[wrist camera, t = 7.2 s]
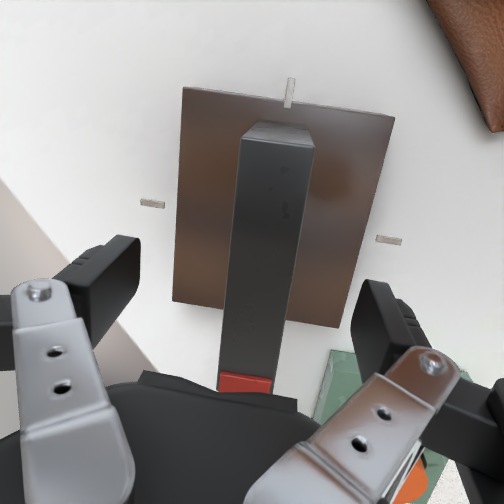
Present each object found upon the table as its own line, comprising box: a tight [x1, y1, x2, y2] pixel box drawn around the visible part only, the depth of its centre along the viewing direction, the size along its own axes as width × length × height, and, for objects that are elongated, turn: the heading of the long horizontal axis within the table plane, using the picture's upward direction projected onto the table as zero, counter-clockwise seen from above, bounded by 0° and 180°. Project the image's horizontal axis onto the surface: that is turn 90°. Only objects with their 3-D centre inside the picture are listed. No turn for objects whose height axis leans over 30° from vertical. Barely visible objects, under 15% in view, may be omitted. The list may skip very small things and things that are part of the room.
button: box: [392, 457, 428, 504], centre depth 26 cm, size 4×4×2 cm
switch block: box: [313, 350, 473, 504], centre depth 28 cm, size 12×10×4 cm
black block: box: [216, 119, 315, 394], centre depth 18 cm, size 11×2×8 cm, turn 174°
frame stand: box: [141, 78, 402, 328], centre depth 23 cm, size 15×15×3 cm
